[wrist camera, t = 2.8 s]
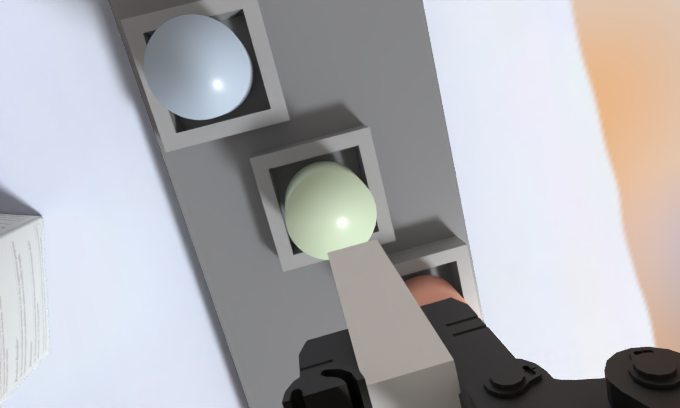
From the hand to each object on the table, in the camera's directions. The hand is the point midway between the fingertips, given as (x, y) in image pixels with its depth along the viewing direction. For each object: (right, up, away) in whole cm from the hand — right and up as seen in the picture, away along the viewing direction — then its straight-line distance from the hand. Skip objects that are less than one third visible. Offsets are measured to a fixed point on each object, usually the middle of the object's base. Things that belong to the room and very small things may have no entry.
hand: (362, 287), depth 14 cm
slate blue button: (-7, +9, +10) cm, 15 cm away
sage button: (-2, +3, +12) cm, 12 cm away
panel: (-2, +3, +16) cm, 16 cm away
